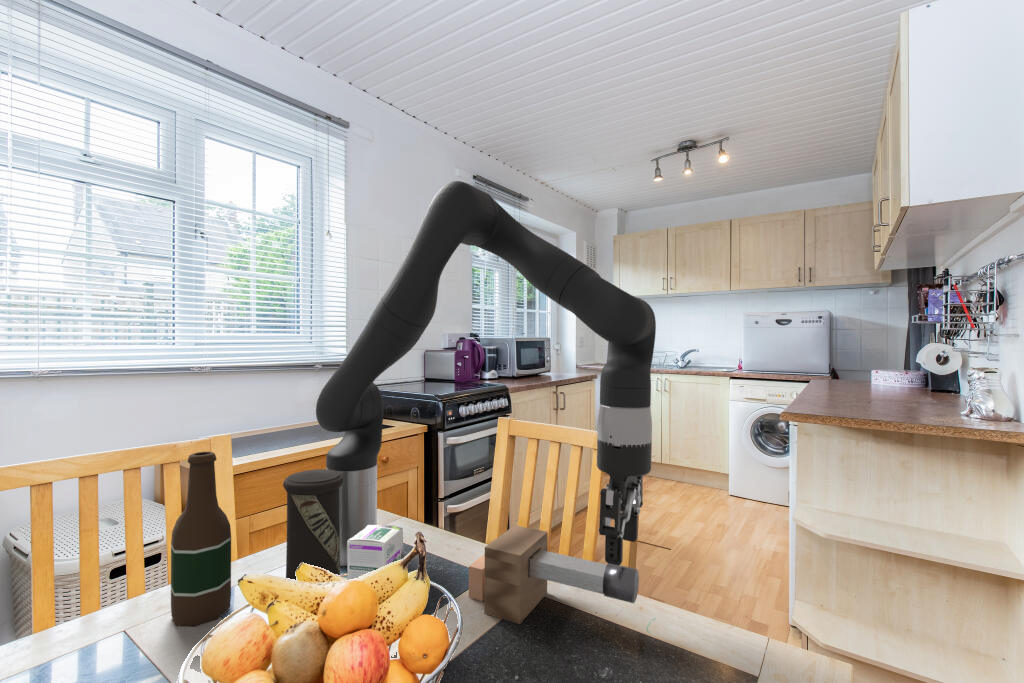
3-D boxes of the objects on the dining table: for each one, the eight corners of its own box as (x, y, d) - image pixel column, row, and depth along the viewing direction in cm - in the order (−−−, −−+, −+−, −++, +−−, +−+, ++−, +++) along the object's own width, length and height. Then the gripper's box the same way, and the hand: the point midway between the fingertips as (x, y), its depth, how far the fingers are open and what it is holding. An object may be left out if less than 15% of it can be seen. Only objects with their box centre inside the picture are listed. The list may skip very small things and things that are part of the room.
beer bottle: (242, 607, 75) (243, 450, 75) (191, 634, 68) (192, 462, 68) (210, 595, 79) (210, 445, 78) (157, 620, 71) (158, 456, 71)
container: (306, 619, 72) (307, 483, 72) (270, 602, 77) (271, 474, 77) (354, 593, 79) (354, 470, 79) (318, 579, 84) (319, 462, 84)
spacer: (482, 601, 78) (468, 597, 79) (497, 586, 82) (484, 583, 83) (482, 569, 78) (468, 566, 79) (497, 557, 82) (484, 554, 83)
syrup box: (386, 652, 65) (387, 542, 65) (345, 646, 66) (346, 538, 66) (404, 627, 70) (405, 526, 70) (366, 622, 71) (367, 522, 71)
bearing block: (484, 613, 74) (484, 547, 74) (514, 584, 83) (514, 525, 83) (519, 624, 71) (520, 555, 71) (547, 592, 80) (547, 531, 80)
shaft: (499, 575, 76) (499, 546, 76) (512, 563, 80) (512, 536, 80) (631, 609, 67) (631, 576, 67) (638, 594, 70) (638, 563, 70)
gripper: (612, 426, 77) (610, 529, 77) (582, 443, 65) (579, 565, 65) (661, 431, 74) (658, 538, 74) (639, 450, 61) (636, 579, 61)
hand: (621, 551), depth 69 cm, fingers open, 8 cm apart
